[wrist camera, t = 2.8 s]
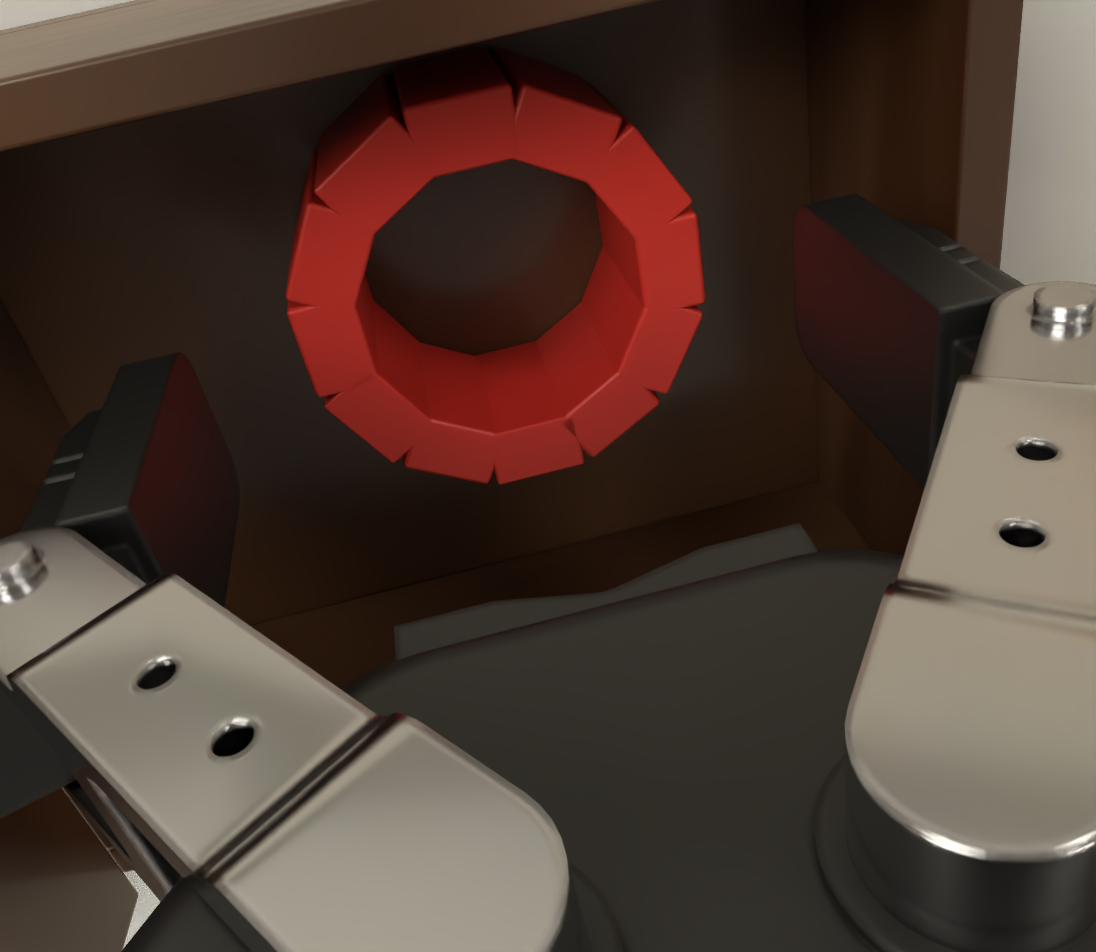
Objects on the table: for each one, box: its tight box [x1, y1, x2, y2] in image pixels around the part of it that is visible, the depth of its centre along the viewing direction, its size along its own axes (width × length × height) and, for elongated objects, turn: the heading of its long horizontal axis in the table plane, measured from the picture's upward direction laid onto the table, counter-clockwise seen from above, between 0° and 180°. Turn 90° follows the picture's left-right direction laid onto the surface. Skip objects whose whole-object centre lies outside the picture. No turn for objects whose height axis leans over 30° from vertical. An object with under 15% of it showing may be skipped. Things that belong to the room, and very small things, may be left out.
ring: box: [286, 47, 705, 485], centre depth 16 cm, size 6×6×3 cm
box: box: [0, 0, 1023, 872], centre depth 16 cm, size 15×12×6 cm
